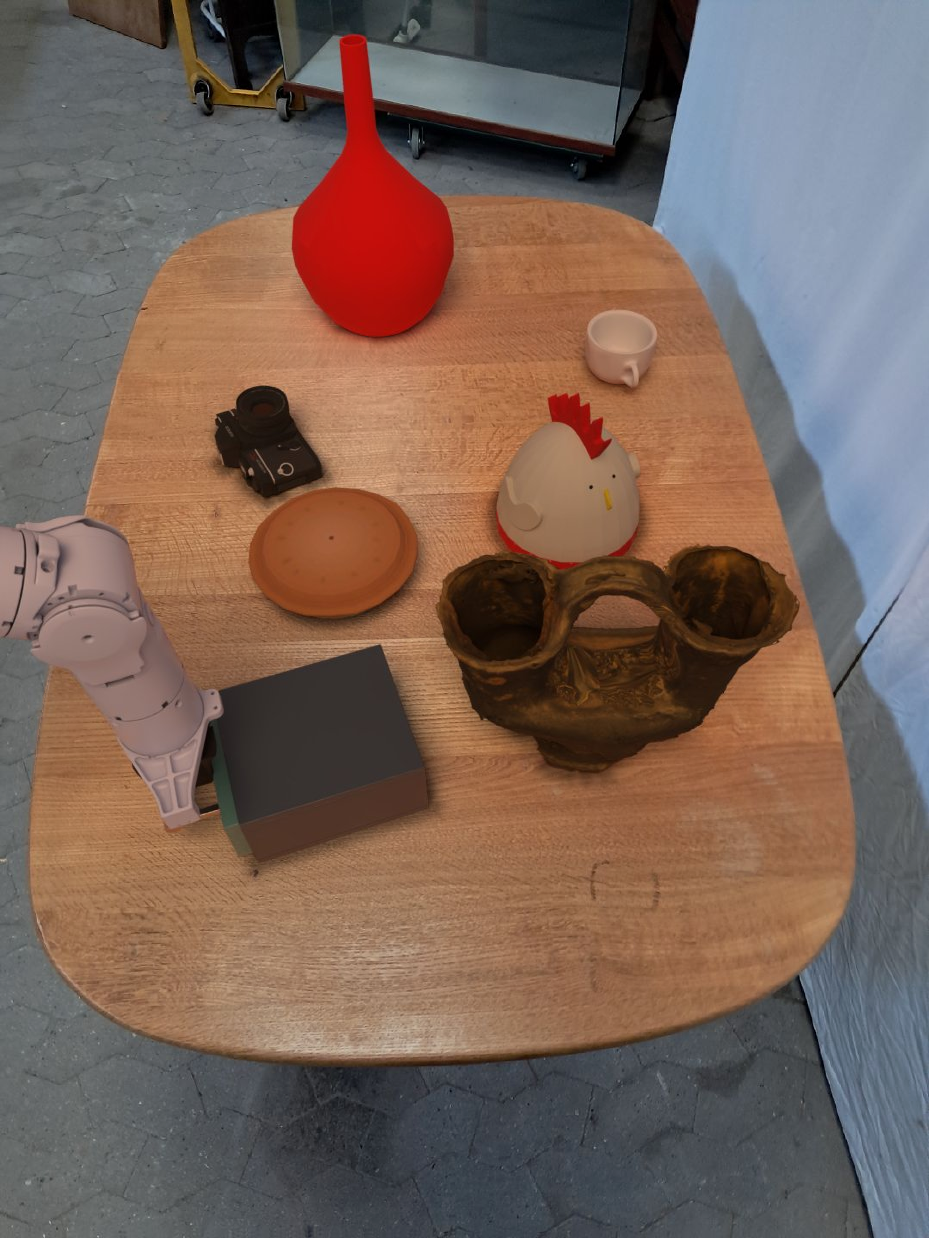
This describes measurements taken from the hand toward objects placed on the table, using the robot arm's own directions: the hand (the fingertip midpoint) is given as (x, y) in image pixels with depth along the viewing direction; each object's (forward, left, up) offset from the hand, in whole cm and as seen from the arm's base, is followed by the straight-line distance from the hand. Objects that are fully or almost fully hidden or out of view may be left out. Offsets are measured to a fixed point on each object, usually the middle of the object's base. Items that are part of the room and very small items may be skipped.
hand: (199, 778), depth 68 cm
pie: (+15, +20, -5) cm, 26 cm away
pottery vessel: (+31, -3, -5) cm, 32 cm away
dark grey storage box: (+9, 0, -5) cm, 10 cm away
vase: (+30, +58, -5) cm, 66 cm away
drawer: (+5, 0, -4) cm, 7 cm away
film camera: (+12, +38, -5) cm, 40 cm away
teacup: (+52, +37, -5) cm, 64 cm away
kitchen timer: (+38, +19, -5) cm, 43 cm away
